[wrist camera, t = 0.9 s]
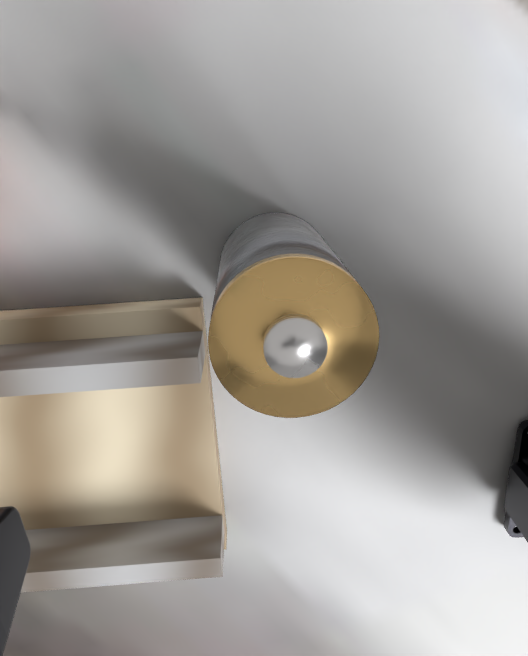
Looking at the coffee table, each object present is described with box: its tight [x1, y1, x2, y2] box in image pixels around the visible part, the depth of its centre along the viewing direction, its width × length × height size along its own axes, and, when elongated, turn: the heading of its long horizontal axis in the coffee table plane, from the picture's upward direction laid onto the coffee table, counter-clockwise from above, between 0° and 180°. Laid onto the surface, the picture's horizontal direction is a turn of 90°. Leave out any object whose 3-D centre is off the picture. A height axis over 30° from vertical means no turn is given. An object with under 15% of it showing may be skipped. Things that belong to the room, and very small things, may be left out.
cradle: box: [0, 297, 227, 592], centre depth 21 cm, size 14×12×4 cm
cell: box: [208, 213, 379, 418], centre depth 16 cm, size 4×4×8 cm
